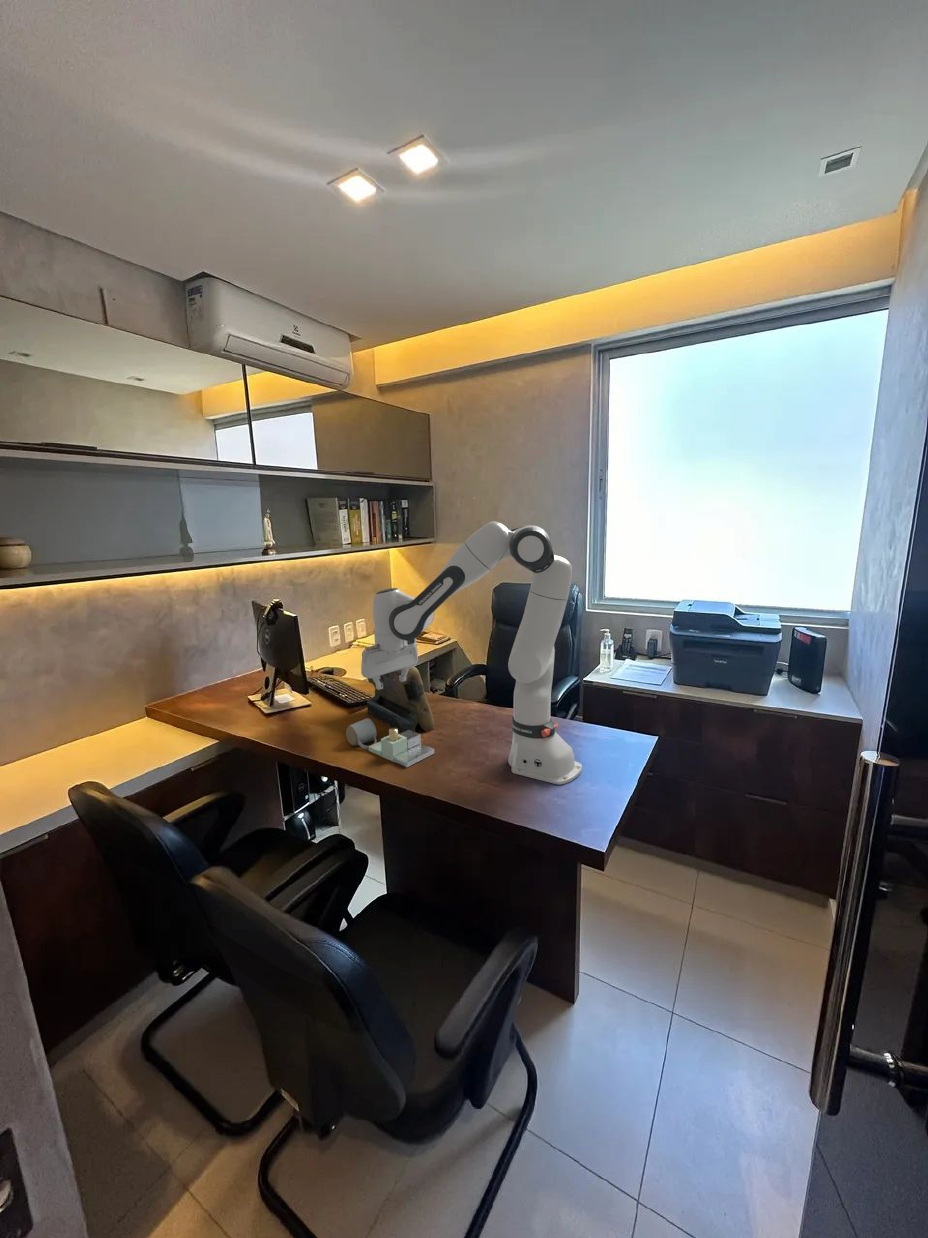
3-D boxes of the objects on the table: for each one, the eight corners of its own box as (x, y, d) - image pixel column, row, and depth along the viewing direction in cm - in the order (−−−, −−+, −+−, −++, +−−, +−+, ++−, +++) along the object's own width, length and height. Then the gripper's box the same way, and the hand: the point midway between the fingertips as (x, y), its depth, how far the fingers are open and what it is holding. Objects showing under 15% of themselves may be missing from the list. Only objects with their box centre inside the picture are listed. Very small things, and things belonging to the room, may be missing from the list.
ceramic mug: (344, 743, 166) (343, 721, 164) (365, 735, 171) (364, 715, 170) (361, 753, 158) (360, 731, 157) (382, 745, 164) (382, 724, 162)
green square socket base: (421, 748, 161) (420, 731, 160) (393, 762, 152) (392, 744, 151) (396, 738, 168) (395, 722, 167) (368, 750, 160) (367, 733, 158)
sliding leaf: (434, 753, 157) (434, 739, 156) (406, 767, 148) (406, 752, 147) (409, 743, 164) (408, 729, 163) (381, 756, 155) (380, 742, 154)
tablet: (441, 727, 178) (440, 660, 173) (412, 739, 168) (409, 669, 163) (387, 705, 200) (384, 646, 195) (358, 714, 191) (355, 652, 186)
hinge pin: (400, 755, 156) (399, 729, 154) (394, 758, 154) (393, 732, 152) (394, 753, 158) (393, 726, 156) (388, 756, 156) (387, 729, 154)
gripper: (368, 649, 139) (371, 696, 142) (420, 636, 154) (421, 678, 157) (355, 646, 143) (358, 691, 146) (406, 634, 158) (408, 675, 161)
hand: (391, 684), depth 151 cm, fingers open, 8 cm apart
